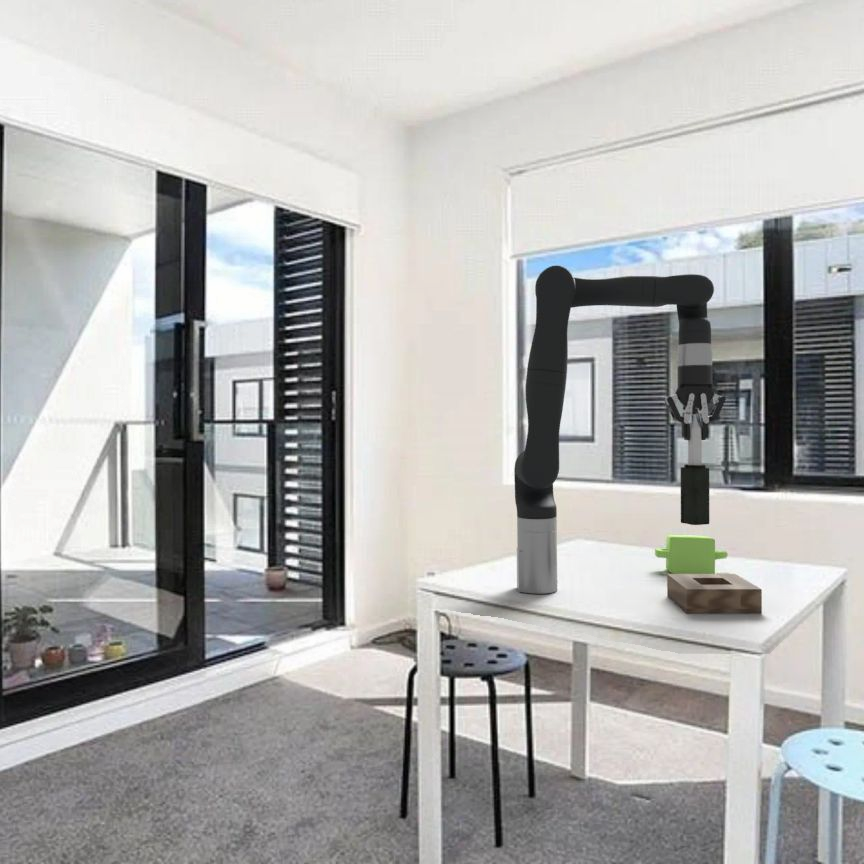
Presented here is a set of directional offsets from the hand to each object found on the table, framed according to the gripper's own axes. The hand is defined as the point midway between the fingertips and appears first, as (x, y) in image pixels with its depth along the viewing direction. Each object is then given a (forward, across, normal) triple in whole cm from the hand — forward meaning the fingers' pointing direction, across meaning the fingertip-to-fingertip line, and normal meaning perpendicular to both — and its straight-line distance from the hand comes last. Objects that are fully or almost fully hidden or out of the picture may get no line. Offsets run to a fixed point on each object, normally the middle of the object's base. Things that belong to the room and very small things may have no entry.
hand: (694, 439), depth 170 cm
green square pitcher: (+35, +6, +23) cm, 43 cm away
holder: (+35, 0, -11) cm, 37 cm away
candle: (+19, 0, 0) cm, 19 cm away
